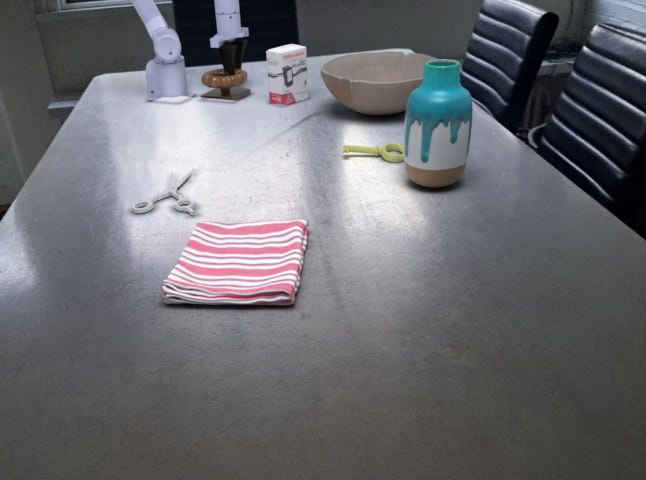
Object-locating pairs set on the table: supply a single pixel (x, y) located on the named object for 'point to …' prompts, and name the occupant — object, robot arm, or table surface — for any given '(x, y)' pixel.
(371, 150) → the key
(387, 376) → the table surface
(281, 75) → the ink box
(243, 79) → the brown beaded ring
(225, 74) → the brown peg stand
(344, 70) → the bowl
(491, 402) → the table surface
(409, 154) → the vase
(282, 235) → the dish towel
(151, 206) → the scissors
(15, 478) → the table surface
